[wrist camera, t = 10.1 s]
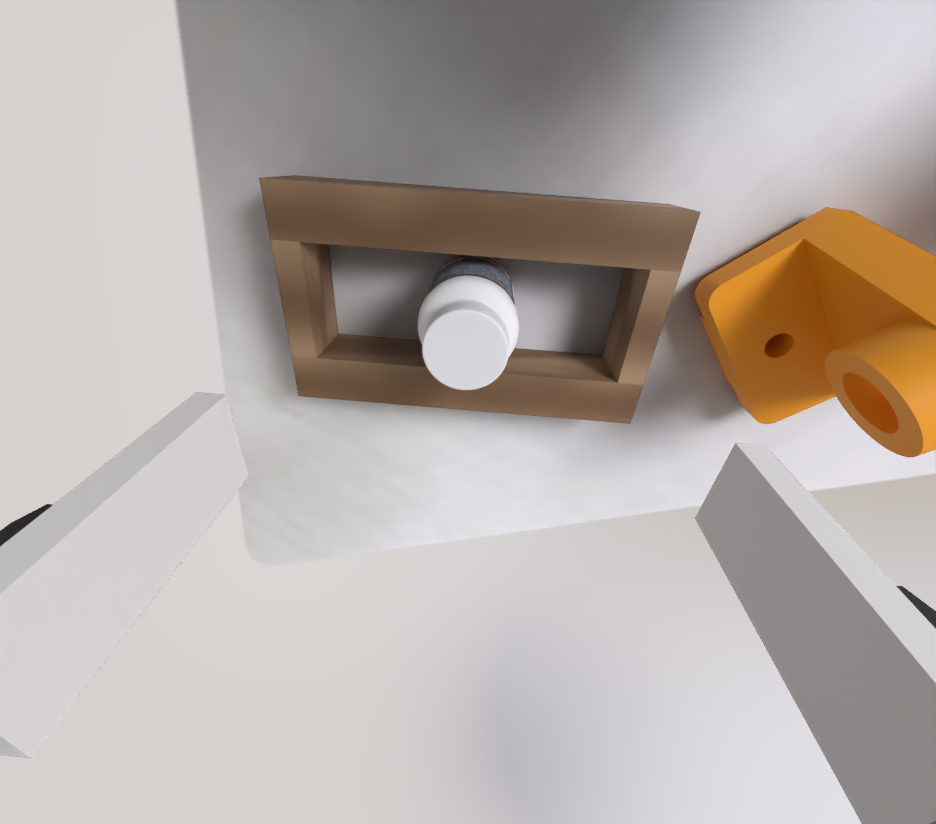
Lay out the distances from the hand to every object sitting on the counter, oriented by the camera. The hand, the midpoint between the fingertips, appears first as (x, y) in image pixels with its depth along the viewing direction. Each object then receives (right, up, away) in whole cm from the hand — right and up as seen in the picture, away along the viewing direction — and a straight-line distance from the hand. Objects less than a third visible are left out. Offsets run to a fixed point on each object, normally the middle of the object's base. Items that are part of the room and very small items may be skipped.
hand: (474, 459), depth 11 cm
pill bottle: (0, +9, +15) cm, 17 cm away
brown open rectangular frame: (0, +9, +15) cm, 17 cm away
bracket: (+19, +7, +15) cm, 25 cm away
